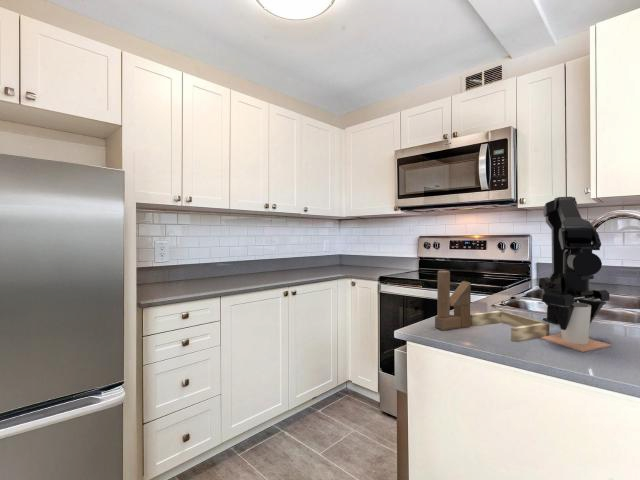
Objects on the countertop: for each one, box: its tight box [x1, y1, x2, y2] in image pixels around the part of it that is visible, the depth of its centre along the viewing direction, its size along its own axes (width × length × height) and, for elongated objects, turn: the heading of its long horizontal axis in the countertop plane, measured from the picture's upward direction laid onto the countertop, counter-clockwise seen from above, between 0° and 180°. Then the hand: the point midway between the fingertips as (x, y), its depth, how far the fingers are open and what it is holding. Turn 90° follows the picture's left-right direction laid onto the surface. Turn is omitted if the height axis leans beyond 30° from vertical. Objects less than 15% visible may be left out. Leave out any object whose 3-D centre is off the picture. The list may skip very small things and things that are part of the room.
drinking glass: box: [560, 301, 591, 344], centre depth 91 cm, size 7×7×10 cm
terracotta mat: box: [540, 333, 612, 353], centre depth 91 cm, size 11×11×1 cm
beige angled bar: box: [470, 310, 550, 342], centre depth 102 cm, size 14×16×4 cm
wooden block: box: [434, 269, 472, 331], centre depth 105 cm, size 4×11×18 cm, turn 108°
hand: (575, 327), depth 91 cm, fingers open, 9 cm apart
